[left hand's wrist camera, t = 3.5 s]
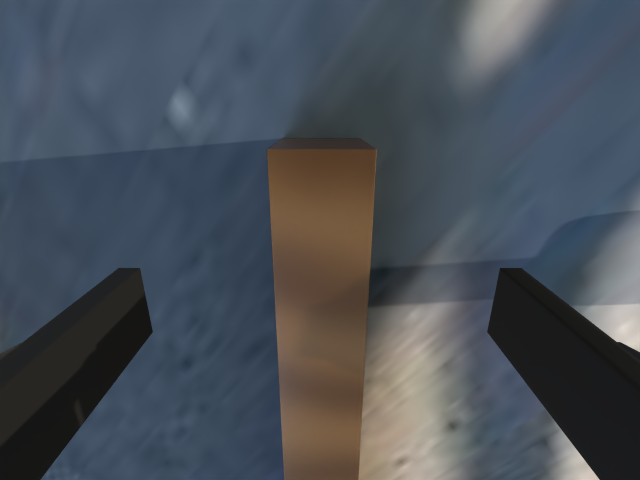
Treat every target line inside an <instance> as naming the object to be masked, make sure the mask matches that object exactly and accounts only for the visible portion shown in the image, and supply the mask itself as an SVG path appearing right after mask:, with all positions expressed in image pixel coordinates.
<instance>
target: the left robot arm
mask: <svg viewBox="0 0 640 480" xmlns="http://www.w3.org/2000/svg"><path fill="white" fill-rule="evenodd" d="M152 332H153V331H152V326H151V321H150V316H149V311H148V306H147V301H146V296H145V291H144V286H143V281H142V276H141V271H140V268H118V269H117V270H116V271H114V272H113V273H112V274H111V275H109V276H108V277H107V278H105V279H104V280H103V281H102V282H100V283H99V284H98V285H96V286H95V287H94V288H93V289H91V290H90V291H89V292H87V293H86V294H85V295H83V296H82V297H81V298H80V299H78V300H77V301H76V302H74V303H73V304H72V305H71V306H69V307H68V308H67V309H65V310H64V311H63V312H62V313H60V314H59V315H58V316H56V317H55V318H54V319H52V320H51V321H50V322H49V323H47V324H46V325H45V326H43V327H42V328H41V329H40V330H38V331H37V332H36V333H34V334H33V335H32V336H31V337H29V338H28V339H27V340H25V341H24V342H23V343H20V344H18V345H16V346H14V347H12V348H11V349H9V350H7V351H5V352H3V353H1V354H0V480H40V479H41V478H42V477H43V475H44V474H45V473H46V471H47V470H48V469H49V468H50V466H51V465H52V464H53V462H54V461H55V460H56V458H57V457H58V456H59V454H60V453H61V452H62V450H63V449H64V448H65V446H66V445H67V444H68V443H69V441H70V440H71V439H72V437H73V436H74V435H75V433H76V432H77V431H78V429H79V428H80V427H81V425H82V424H83V423H84V422H85V420H86V419H87V418H88V416H89V415H90V414H91V412H92V411H93V410H94V408H95V407H96V406H97V404H98V403H99V402H100V401H101V399H102V398H103V397H104V395H105V394H106V393H107V391H108V390H109V389H110V387H111V386H112V385H113V383H114V382H115V381H116V380H117V378H118V377H119V376H120V374H121V373H122V372H123V370H124V369H125V368H126V366H127V365H128V364H129V362H130V361H131V360H132V359H133V357H134V356H135V355H136V353H137V352H138V351H139V349H140V348H141V347H142V345H143V344H144V343H145V341H146V340H147V339H148V338H149V336H150V335H151V334H152ZM487 332H488V334H489V335H490V336H491V338H492V339H493V340H494V341H495V343H496V344H497V345H498V347H499V348H500V349H501V351H502V352H503V353H504V355H505V356H506V357H507V359H508V360H509V361H510V362H511V364H512V365H513V366H514V368H515V369H516V370H517V372H518V373H519V374H520V376H521V377H522V378H523V380H524V381H525V382H526V383H527V385H528V386H529V387H530V389H531V390H532V391H533V393H534V394H535V395H536V397H537V398H538V399H539V401H540V402H541V403H542V404H543V406H544V407H545V408H546V410H547V411H548V412H549V414H550V415H551V416H552V418H553V419H554V420H555V422H556V423H557V424H558V425H559V427H560V428H561V429H562V431H563V432H564V433H565V435H566V436H567V437H568V439H569V440H570V441H571V443H572V444H573V445H574V446H575V448H576V449H577V450H578V452H579V453H580V454H581V456H582V457H583V458H584V460H585V461H586V462H587V464H588V465H589V466H590V468H591V469H592V470H593V471H594V473H595V474H596V475H597V477H598V478H599V479H600V480H640V352H638V351H636V350H634V349H632V348H630V347H628V346H627V345H625V344H623V343H621V342H616V341H615V340H613V339H612V338H611V337H609V336H608V335H607V334H606V333H604V332H603V331H602V330H600V329H599V328H598V327H597V326H595V325H594V324H593V323H591V322H590V321H589V320H588V319H586V318H585V317H584V316H582V315H581V314H580V313H578V312H577V311H576V310H575V309H573V308H572V307H571V306H569V305H568V304H567V303H566V302H564V301H563V300H562V299H560V298H559V297H558V296H557V295H555V294H554V293H553V292H551V291H550V290H549V289H547V288H546V287H545V286H544V285H542V284H541V283H540V282H538V281H537V280H536V279H535V278H533V277H532V276H531V275H529V274H528V273H527V272H526V271H524V270H523V269H522V268H500V271H499V276H498V281H497V286H496V291H495V296H494V301H493V306H492V311H491V316H490V321H489V326H488V331H487Z"/></svg>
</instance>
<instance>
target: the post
mask: <svg viewBox="0 0 640 480" xmlns="http://www.w3.org/2000/svg"><path fill="white" fill-rule="evenodd" d="M376 155H377V149H375V148H374V147H372V146H371V145H369V144H368V143H366V142H365V141H363V140H362V139H360V138H283V139H281V140H280V141H278V142H277V143H275V144H274V145H273V146H271V147H270V148H268V149H267V161H268V180H269V199H270V218H271V237H272V256H273V275H274V294H275V313H276V332H277V351H278V370H279V389H280V408H281V427H282V446H283V465H284V480H358V475H359V457H360V440H361V422H362V404H363V386H364V368H365V351H366V333H367V315H368V297H369V280H370V262H371V244H372V226H373V209H374V191H375V173H376Z"/></svg>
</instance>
